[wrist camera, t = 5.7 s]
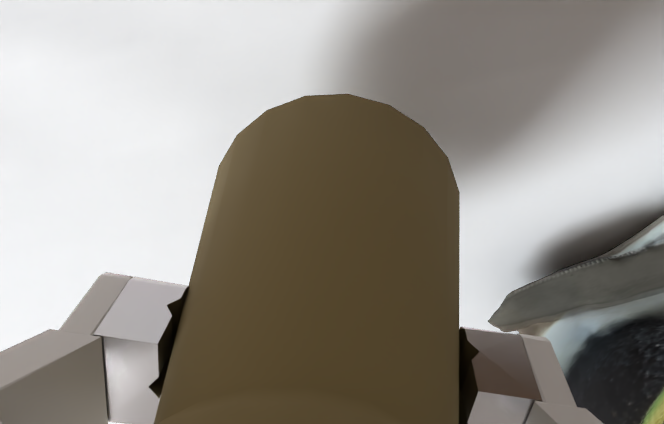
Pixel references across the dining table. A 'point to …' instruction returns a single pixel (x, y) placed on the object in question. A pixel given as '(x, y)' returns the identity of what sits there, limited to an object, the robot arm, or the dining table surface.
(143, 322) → the robot arm
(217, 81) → the dining table surface
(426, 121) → the dining table surface
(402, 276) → the cork
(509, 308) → the salad plate
